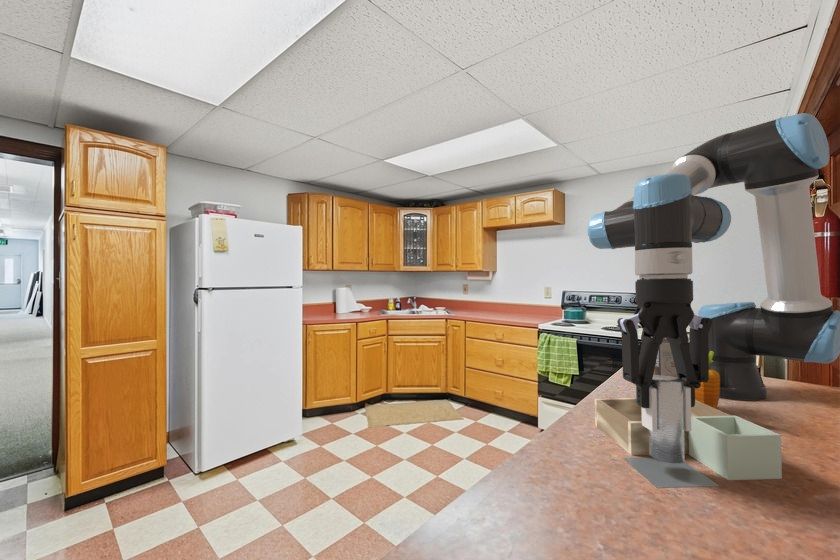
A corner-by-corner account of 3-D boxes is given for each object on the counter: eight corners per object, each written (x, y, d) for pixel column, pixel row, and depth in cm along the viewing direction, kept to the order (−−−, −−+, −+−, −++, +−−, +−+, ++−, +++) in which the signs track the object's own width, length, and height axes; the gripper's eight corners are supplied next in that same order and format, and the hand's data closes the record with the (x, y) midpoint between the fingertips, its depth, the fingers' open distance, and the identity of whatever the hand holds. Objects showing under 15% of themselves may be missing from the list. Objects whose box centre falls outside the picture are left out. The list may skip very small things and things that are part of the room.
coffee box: (693, 416, 82) (691, 342, 82) (661, 415, 83) (659, 342, 83) (673, 402, 91) (671, 336, 91) (644, 401, 92) (642, 335, 92)
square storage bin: (736, 456, 64) (735, 415, 64) (781, 482, 56) (780, 435, 56) (689, 458, 64) (688, 416, 64) (728, 483, 56) (727, 436, 56)
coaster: (676, 460, 63) (676, 456, 63) (719, 490, 54) (719, 485, 54) (622, 461, 63) (622, 458, 63) (657, 491, 54) (657, 487, 54)
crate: (687, 425, 77) (687, 396, 77) (742, 455, 64) (741, 420, 64) (595, 428, 77) (594, 398, 77) (631, 458, 64) (630, 423, 64)
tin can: (671, 449, 61) (669, 374, 61) (692, 463, 56) (690, 382, 56) (642, 449, 61) (641, 375, 61) (661, 463, 56) (659, 383, 56)
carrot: (689, 423, 78) (687, 351, 78) (693, 417, 82) (691, 347, 82) (719, 429, 75) (718, 354, 75) (722, 422, 79) (720, 350, 78)
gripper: (619, 278, 55) (622, 439, 55) (739, 275, 55) (743, 436, 55) (595, 278, 62) (598, 420, 62) (701, 276, 62) (703, 417, 62)
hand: (666, 427), depth 59 cm, fingers closed on tin can, 4 cm apart
